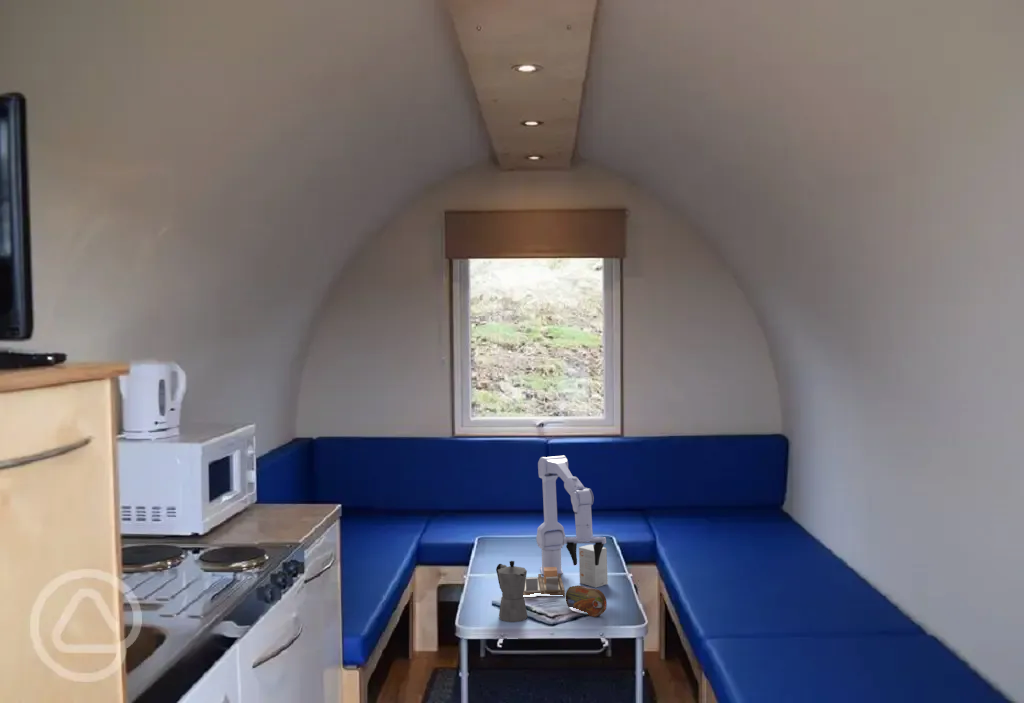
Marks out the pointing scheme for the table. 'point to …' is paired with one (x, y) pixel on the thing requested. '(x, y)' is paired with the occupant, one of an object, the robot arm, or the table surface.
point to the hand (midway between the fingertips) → (586, 564)
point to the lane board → (562, 592)
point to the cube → (549, 572)
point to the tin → (586, 600)
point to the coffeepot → (512, 592)
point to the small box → (592, 567)
